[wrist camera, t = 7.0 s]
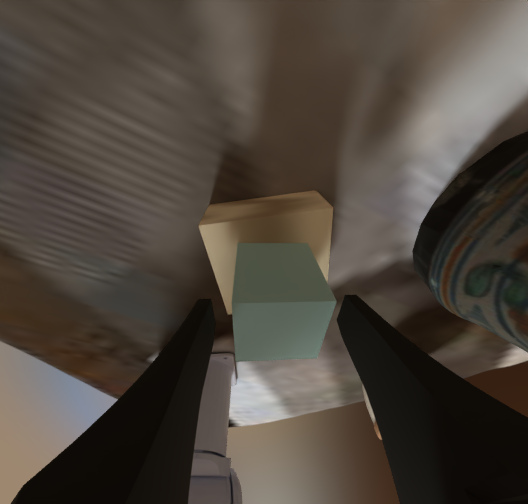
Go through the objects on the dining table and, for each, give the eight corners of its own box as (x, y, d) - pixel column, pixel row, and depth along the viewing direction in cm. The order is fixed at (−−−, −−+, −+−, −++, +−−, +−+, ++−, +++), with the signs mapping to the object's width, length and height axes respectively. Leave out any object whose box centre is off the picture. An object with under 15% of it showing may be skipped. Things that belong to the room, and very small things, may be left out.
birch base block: (231, 281, 19) (227, 314, 16) (210, 203, 15) (198, 225, 12) (312, 271, 19) (325, 302, 16) (314, 188, 15) (333, 207, 11)
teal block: (239, 294, 15) (235, 361, 11) (237, 242, 12) (231, 303, 8) (298, 293, 15) (317, 358, 11) (307, 243, 13) (336, 301, 8)
